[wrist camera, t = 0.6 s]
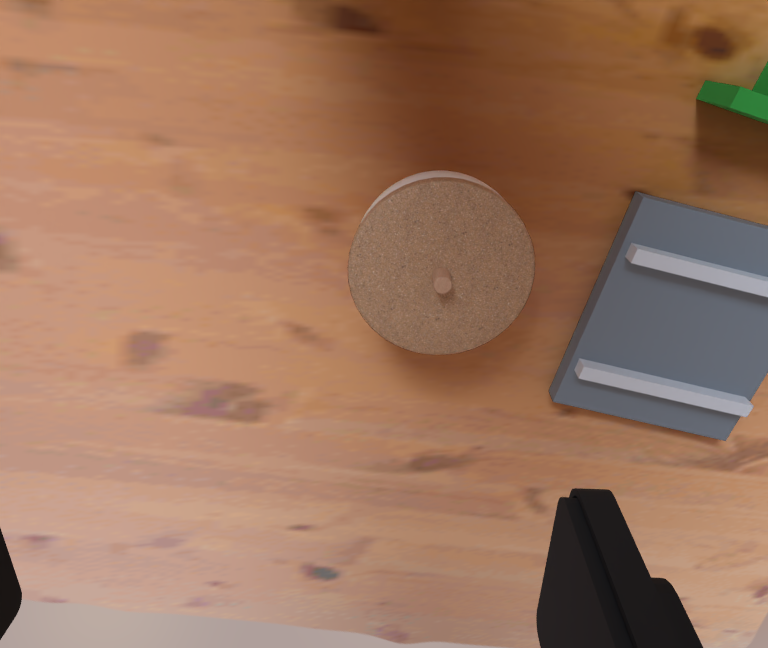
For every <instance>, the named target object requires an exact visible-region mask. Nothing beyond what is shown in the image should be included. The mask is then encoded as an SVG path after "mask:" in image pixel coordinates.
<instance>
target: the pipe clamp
mask: <svg viewBox="0 0 768 648" xmlns="http://www.w3.org/2000/svg"><path fill="white" fill-rule="evenodd" d="M696 99H698V100H700V101H703V102H706V103H709V104H712V105H715V106H717V107H720V108H723V109H726V110H729V111H732V112H735V113H737V114H740V115H743V116H746V117H749V118H752V119H754V120H757V121H760V122H763V123H766V124H768V62H767V64H766V66H765V68H764V69H763V71H762V73H761V75H760V77H759V79H758V80H757V82H756V84H755V86H754V88H753V90H749V89H746V88H743V87H740V86H734V85H729V84H723V83H717V82H712V81H705V82H704V84H703V86H702V88H701V90H700V92H699V94H698V96H697V98H696Z"/></svg>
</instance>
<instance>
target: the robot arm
mask: <svg viewBox="0 0 768 648" xmlns="http://www.w3.org/2000/svg"><path fill="white" fill-rule="evenodd" d="M21 600H22V592H21V588H20V585H19V582H18V579H17V576H16V573H15V570H14V567H13V564H12V561H11V558H10V555H9V552H8V549H7V546H6V543H5V541H4V538H3V535H2V532H1V529H0V640H1V638H2V636H3V635H4V633H5V632H6V630H7V629H8V627H9V626H10V624H11V623H12V621H13V620H14V618H15V616H16V615H17V613H18V610H19V608H20V605H21ZM537 632H538V637H539V642H540V646H541V648H703V646H702V644H701V642H700V640H699V638H698V636H697V634H696V632H695V630H694V628H693V626H692V623H691V621H690V619H689V617H688V615H687V613H686V611H685V609H684V607H683V605H682V603H681V601H680V599H679V597H678V595H677V593H676V591H675V590H674V588H673V586H672V585H671V584H670V583H669V582H668V581H667V580H666V579H663V578H651V577H650V575H649V572H648V570H647V568H646V566H645V563H644V561H643V559H642V557H641V555H640V552H639V550H638V548H637V546H636V544H635V541H634V539H633V537H632V535H631V532H630V530H629V528H628V526H627V524H626V521H625V519H624V517H623V515H622V513H621V510H620V508H619V506H618V504H617V501H616V499H615V497H614V495H613V494H612V492H611V491H610V490H604V489H576V488H575V489H572V491H571V493H570V496H569V498H568V497H561V498H560V499H559V501H558V505H557V510H556V516H555V521H554V526H553V531H552V536H551V541H550V547H549V552H548V557H547V562H546V567H545V572H544V577H543V583H542V588H541V593H540V598H539V603H538V608H537Z"/></svg>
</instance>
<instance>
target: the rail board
mask: <svg viewBox="0 0 768 648" xmlns="http://www.w3.org/2000/svg"><path fill="white" fill-rule="evenodd" d="M767 373H768V226H766V225H763V224H759V223H755V222H751V221H747V220H743V219H739V218H736V217H732V216H728V215H724V214H720V213H716V212H713V211H709V210H705V209H701V208H697V207H693V206H690V205H686V204H682V203H678V202H674V201H670V200H667V199H663V198H659V197H655V196H651V195H647V194H644V193H640V192H636V191H635V194H634V196H633V198H632V200H631V203H630V205H629V207H628V210H627V212H626V214H625V217H624V219H623V221H622V223H621V226H620V228H619V230H618V233H617V235H616V237H615V240H614V242H613V244H612V246H611V249H610V251H609V253H608V256H607V258H606V260H605V263H604V265H603V267H602V269H601V272H600V274H599V276H598V279H597V281H596V283H595V285H594V288H593V290H592V292H591V295H590V297H589V299H588V302H587V304H586V306H585V308H584V311H583V313H582V315H581V318H580V320H579V322H578V325H577V327H576V329H575V331H574V334H573V336H572V338H571V341H570V343H569V345H568V348H567V350H566V352H565V354H564V357H563V359H562V361H561V364H560V366H559V368H558V371H557V373H556V375H555V377H554V380H553V382H552V384H551V387H550V389H549V393H550V396H551V398H552V401H553V402H556V403H561V404H565V405H569V406H574V407H578V408H583V409H587V410H591V411H596V412H600V413H605V414H609V415H613V416H618V417H622V418H627V419H631V420H636V421H640V422H644V423H649V424H653V425H658V426H662V427H666V428H671V429H675V430H680V431H684V432H688V433H693V434H697V435H702V436H706V437H710V438H715V439H719V440H724V441H726V439H727V438H728V436H729V434H730V433H731V431H732V430H733V428H734V426H735V425H736V423H737V421H738V420H739V418H740V417H741V416H743V417H747V416H748V415H749V413H750V411H751V410H752V408H753V407H754V406H753V405H752V404H751V403H750V400H751V399H752V397H753V395H754V394H755V392H756V391H757V389H758V387H759V386H760V384H761V382H762V381H763V379H764V378H765V376H766V374H767Z"/></svg>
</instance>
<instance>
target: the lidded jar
mask: <svg viewBox="0 0 768 648" xmlns="http://www.w3.org/2000/svg"><path fill="white" fill-rule="evenodd" d="M534 273H535V256H534V249H533V245H532V241H531V238H530V235H529V233H528V231H527V229H526V227H525V224H524V223H523V221H522V220H521V218H520V217H519V215H518V214H517V212H516V211H515V210H514V209H513V208H512V207H511V206H510V205H509V204H508V203H507V201H506V200H505V199H503V197H502V196H501V195H500V194H499V193H498V192H496V191H495V190H494V189H492V188H491V187H490V186H488V185H487V184H485V183H484V182H482V181H480V180H478V179H476V178H474V177H472V176H469V175H466V174H463V173H460V172H453V171H446V170H440V171H427V172H421V173H417V174H414V175H411V176H408V177H406V178H404V179H402V180H400V181H398V182H396V183H394V184H393V185H392V186H390V187H389V188H388V189H386V190H385V191H384V192H383V193H382V194H381V195H380V196H379V197H378V198H377V199H376V200H375V201H374V202H373V203H372V205H371V206H370V208H369V209H368V211H367V212H366V213H365V215H364V217H363V219H362V221H361V223H360V225H359V228H358V230H357V232H356V234H355V236H354V239H353V242H352V245H351V249H350V252H349V260H348V282H349V286H350V291H351V295H352V297H353V300H354V302H355V305H356V307H357V309H358V310H359V312H360V314H361V315H362V317H363V318H364V320H365V321H366V322H367V323H368V324H369V326H370V327H371V328H372V329H373V330H374V331H376V332H377V333H378V334H379V335H380V336H381V337H383V338H384V339H386V340H388V341H389V342H391V343H392V344H394V345H397V346H399V347H401V348H403V349H406V350H409V351H413V352H417V353H422V354H429V355H448V354H455V353H461V352H464V351H468V350H471V349H474V348H476V347H479V346H481V345H483V344H485V343H487V342H489V341H490V340H492V339H494V338H495V337H497V336H498V335H499V334H501V333H502V332H503V331H504V330H505V329H506V328H508V327H509V326H510V324H511V323H512V322H513V321H514V320H515V319H516V318H517V316H518V315H519V313H520V312H521V310H522V309H523V307H524V306H525V304H526V301H527V299H528V297H529V295H530V292H531V288H532V285H533V281H534Z"/></svg>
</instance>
